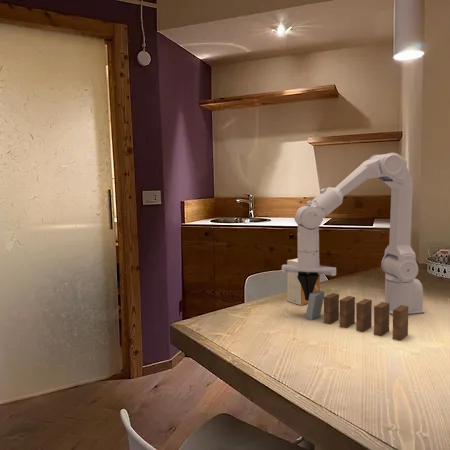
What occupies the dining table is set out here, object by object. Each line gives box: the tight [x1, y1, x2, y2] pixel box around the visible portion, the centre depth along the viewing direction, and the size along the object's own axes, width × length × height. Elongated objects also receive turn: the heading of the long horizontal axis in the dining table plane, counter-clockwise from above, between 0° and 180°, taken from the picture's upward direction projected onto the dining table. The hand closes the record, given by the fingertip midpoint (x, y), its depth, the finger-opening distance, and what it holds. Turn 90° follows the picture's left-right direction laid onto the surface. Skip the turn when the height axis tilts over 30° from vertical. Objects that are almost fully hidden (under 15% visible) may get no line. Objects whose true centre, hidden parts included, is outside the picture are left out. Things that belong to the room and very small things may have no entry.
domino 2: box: [339, 295, 356, 329], centre depth 110 cm, size 2×5×7 cm, turn 138°
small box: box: [286, 257, 321, 306], centre depth 132 cm, size 8×6×13 cm
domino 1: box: [323, 292, 340, 325], centre depth 113 cm, size 2×5×7 cm, turn 138°
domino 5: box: [392, 305, 409, 342], centre depth 101 cm, size 2×5×7 cm, turn 138°
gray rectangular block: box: [305, 289, 325, 321], centre depth 117 cm, size 2×5×7 cm, turn 138°
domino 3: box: [355, 298, 373, 333], centre depth 107 cm, size 2×5×7 cm, turn 138°
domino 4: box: [373, 301, 390, 337], centre depth 104 cm, size 2×5×7 cm, turn 138°
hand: (308, 299), depth 118 cm, fingers closed
